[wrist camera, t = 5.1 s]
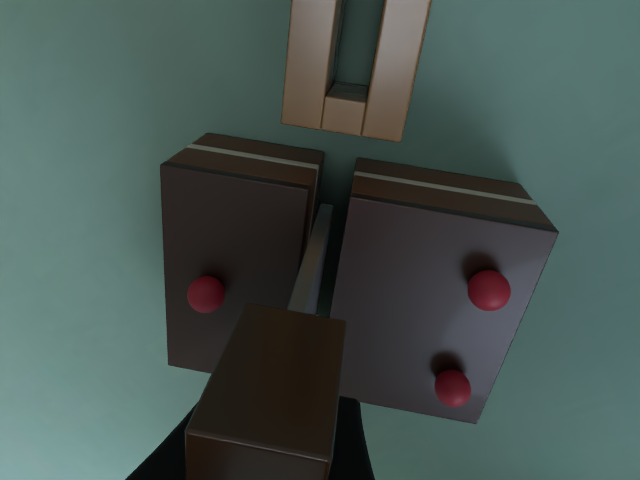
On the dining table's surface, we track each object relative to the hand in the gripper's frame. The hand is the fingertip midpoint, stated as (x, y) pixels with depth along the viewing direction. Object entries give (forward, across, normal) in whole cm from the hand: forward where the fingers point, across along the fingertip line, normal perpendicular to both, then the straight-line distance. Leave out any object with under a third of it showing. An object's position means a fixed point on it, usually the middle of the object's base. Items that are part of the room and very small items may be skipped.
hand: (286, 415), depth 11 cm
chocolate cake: (+9, -4, 0) cm, 9 cm away
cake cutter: (+5, 0, 0) cm, 5 cm away
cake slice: (+9, +3, 0) cm, 9 cm away
